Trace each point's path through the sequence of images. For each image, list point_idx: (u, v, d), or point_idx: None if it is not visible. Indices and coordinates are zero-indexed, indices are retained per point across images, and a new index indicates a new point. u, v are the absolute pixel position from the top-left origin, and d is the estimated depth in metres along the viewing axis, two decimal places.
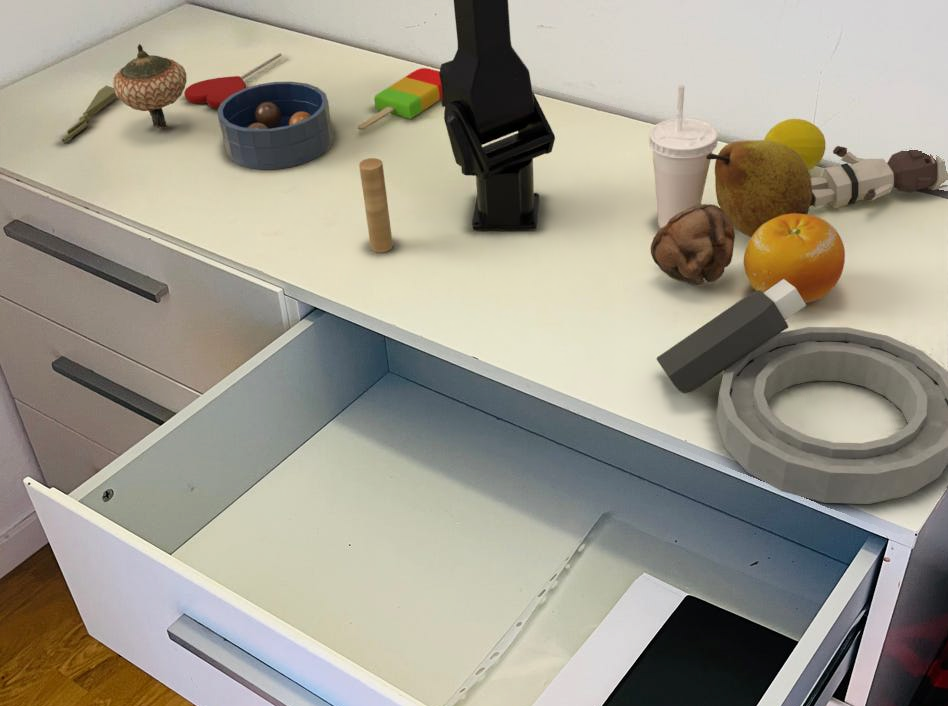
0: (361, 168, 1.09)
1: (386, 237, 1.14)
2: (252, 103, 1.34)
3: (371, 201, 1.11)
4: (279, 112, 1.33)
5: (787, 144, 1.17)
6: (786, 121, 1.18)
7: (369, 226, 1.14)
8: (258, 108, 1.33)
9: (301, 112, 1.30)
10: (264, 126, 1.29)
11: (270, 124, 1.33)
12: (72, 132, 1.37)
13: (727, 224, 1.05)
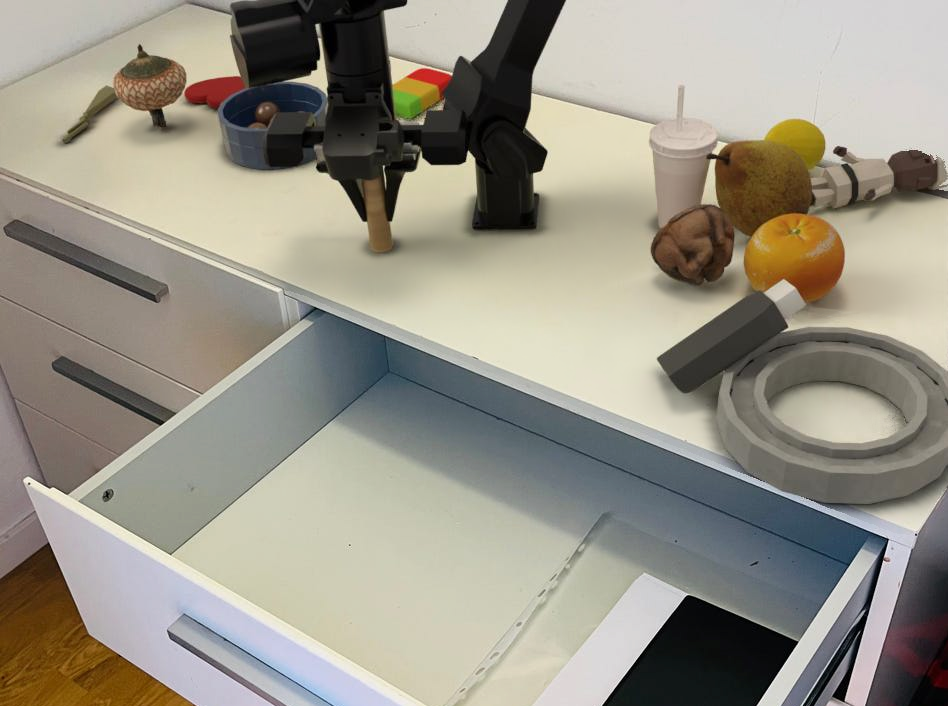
0: None
1: (385, 237, 1.14)
2: (252, 103, 1.34)
3: (371, 201, 1.11)
4: (279, 112, 1.33)
5: (787, 144, 1.17)
6: (786, 121, 1.18)
7: (369, 226, 1.14)
8: (258, 108, 1.33)
9: None
10: (264, 126, 1.29)
11: None
12: (72, 132, 1.37)
13: (727, 224, 1.05)
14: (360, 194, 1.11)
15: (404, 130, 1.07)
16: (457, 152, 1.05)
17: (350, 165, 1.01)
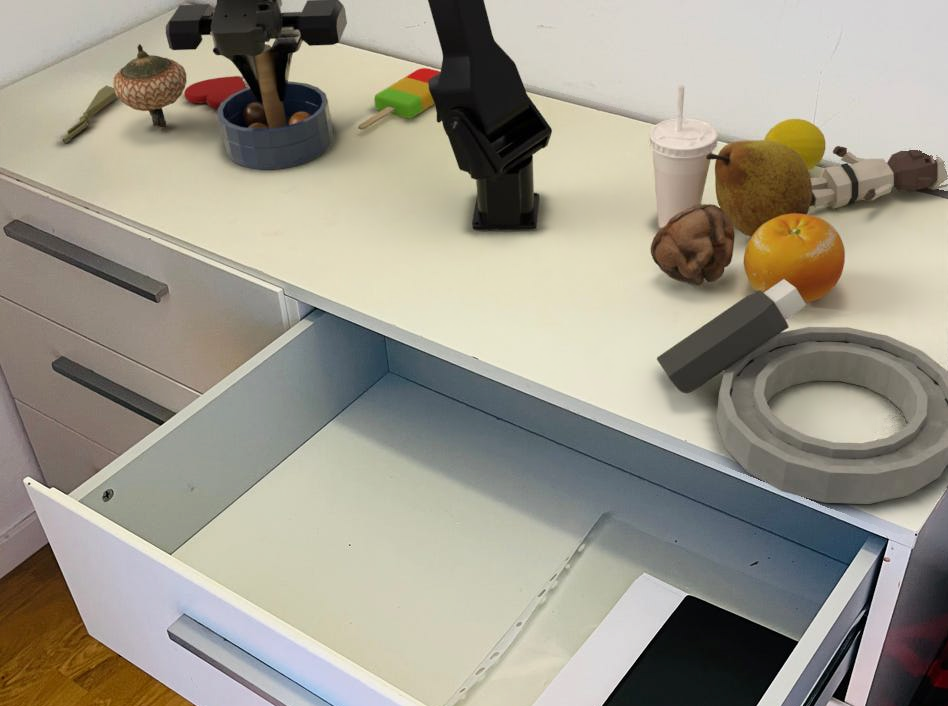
0: None
1: (279, 116, 1.32)
2: None
3: (264, 82, 1.29)
4: (258, 104, 1.33)
5: (787, 144, 1.17)
6: (786, 121, 1.18)
7: (264, 106, 1.32)
8: None
9: (301, 112, 1.30)
10: (264, 126, 1.29)
11: (257, 119, 1.33)
12: (72, 132, 1.37)
13: (727, 224, 1.05)
14: (254, 76, 1.29)
15: (286, 16, 1.25)
16: (330, 33, 1.23)
17: (235, 41, 1.19)
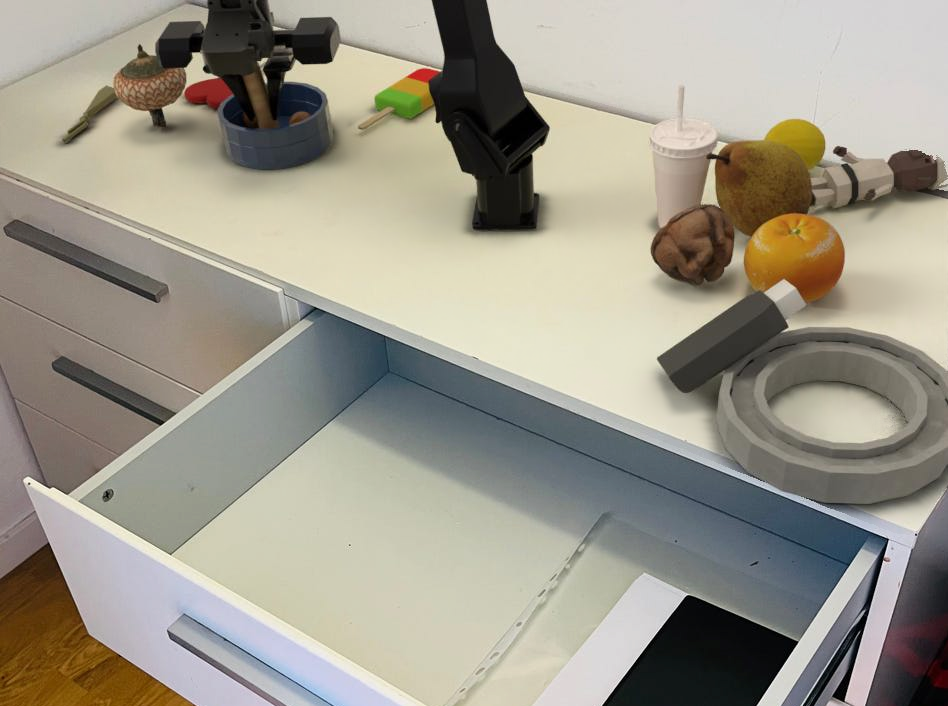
0: None
1: None
2: None
3: (251, 100, 1.27)
4: None
5: (787, 144, 1.17)
6: (786, 121, 1.18)
7: (257, 122, 1.30)
8: (242, 115, 1.33)
9: (301, 112, 1.30)
10: None
11: (254, 128, 1.33)
12: (72, 132, 1.37)
13: (727, 224, 1.05)
14: (245, 94, 1.27)
15: (279, 34, 1.22)
16: (323, 52, 1.20)
17: (226, 61, 1.16)
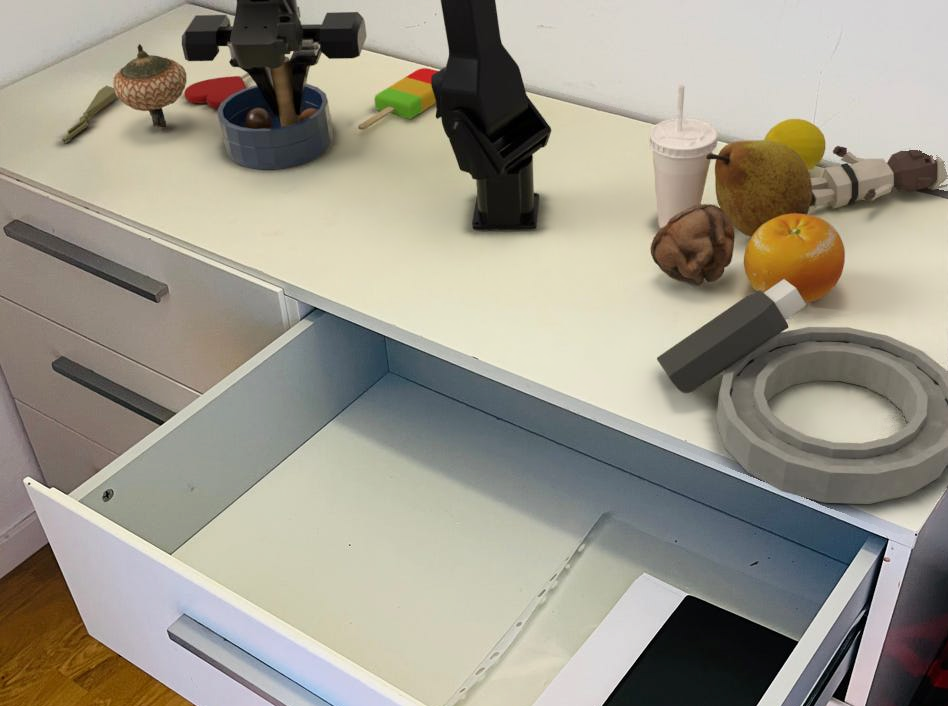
0: None
1: None
2: (252, 103, 1.34)
3: (276, 94, 1.27)
4: (266, 124, 1.32)
5: (787, 144, 1.17)
6: (786, 121, 1.18)
7: (279, 116, 1.30)
8: (247, 116, 1.32)
9: None
10: None
11: None
12: (72, 132, 1.37)
13: (727, 224, 1.05)
14: (270, 89, 1.27)
15: (306, 29, 1.22)
16: (350, 46, 1.20)
17: (255, 53, 1.17)
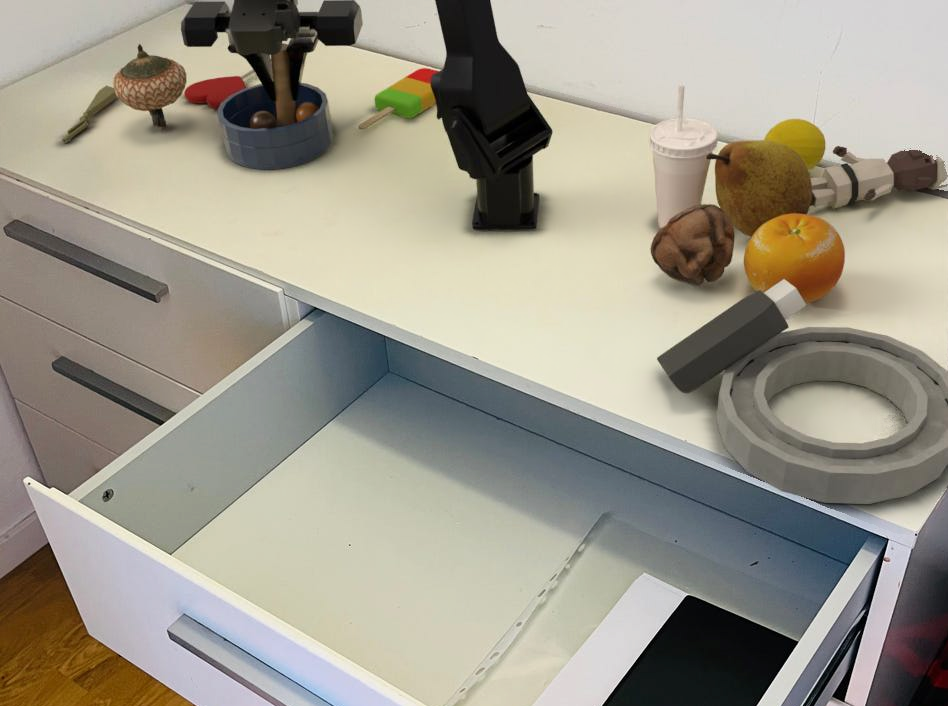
0: None
1: (285, 116, 1.32)
2: (252, 103, 1.34)
3: (275, 79, 1.30)
4: None
5: (787, 144, 1.17)
6: (786, 121, 1.18)
7: None
8: (253, 121, 1.31)
9: (314, 110, 1.32)
10: None
11: None
12: (72, 132, 1.37)
13: (727, 224, 1.05)
14: (268, 75, 1.29)
15: (303, 16, 1.24)
16: (347, 34, 1.23)
17: (253, 40, 1.19)
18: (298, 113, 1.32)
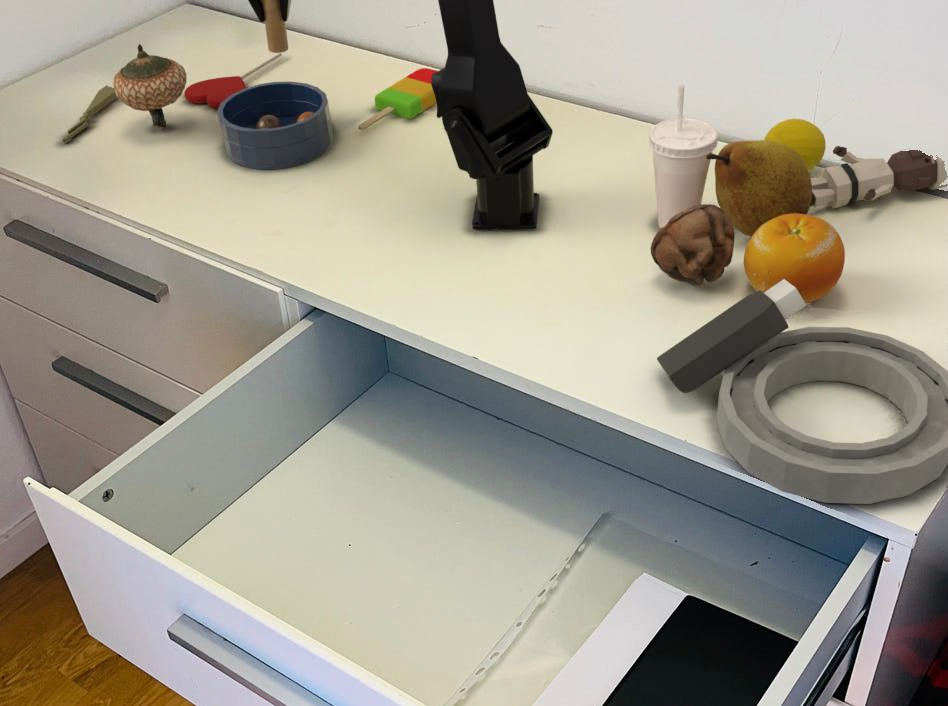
0: None
1: (275, 39, 1.26)
2: (252, 103, 1.34)
3: None
4: None
5: (787, 144, 1.17)
6: (786, 121, 1.18)
7: (265, 24, 1.26)
8: None
9: None
10: None
11: None
12: (72, 132, 1.37)
13: (727, 224, 1.05)
14: None
15: None
16: None
17: None
18: None
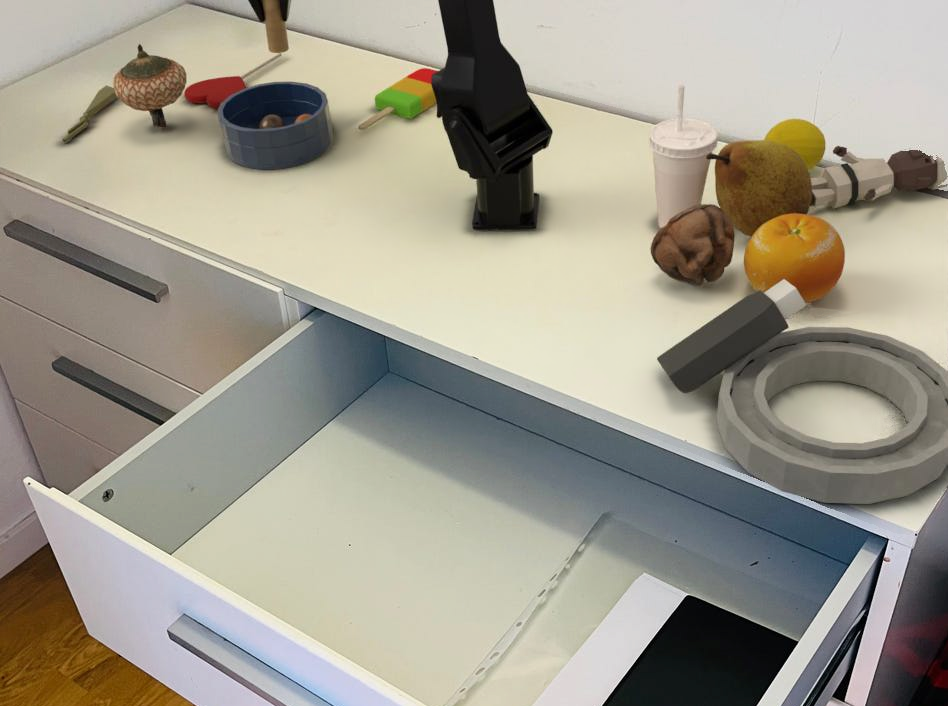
0: None
1: (275, 39, 1.26)
2: (252, 103, 1.34)
3: None
4: None
5: (787, 144, 1.17)
6: (786, 121, 1.18)
7: (265, 24, 1.26)
8: None
9: None
10: None
11: None
12: (72, 132, 1.37)
13: (727, 224, 1.05)
14: None
15: None
16: None
17: None
18: None
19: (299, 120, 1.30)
